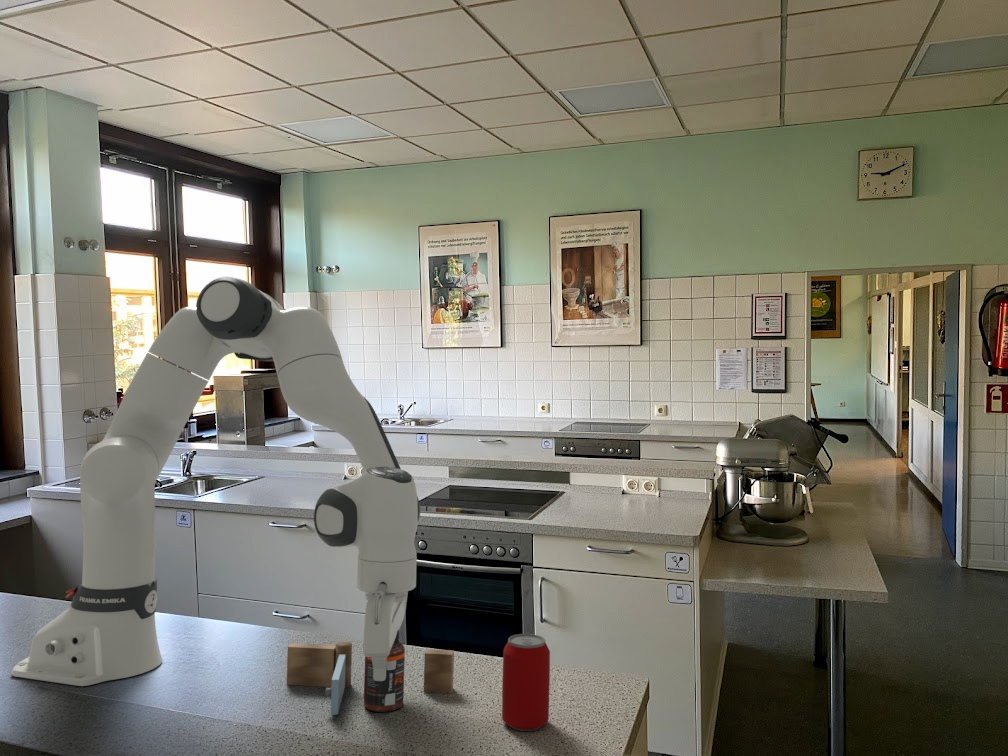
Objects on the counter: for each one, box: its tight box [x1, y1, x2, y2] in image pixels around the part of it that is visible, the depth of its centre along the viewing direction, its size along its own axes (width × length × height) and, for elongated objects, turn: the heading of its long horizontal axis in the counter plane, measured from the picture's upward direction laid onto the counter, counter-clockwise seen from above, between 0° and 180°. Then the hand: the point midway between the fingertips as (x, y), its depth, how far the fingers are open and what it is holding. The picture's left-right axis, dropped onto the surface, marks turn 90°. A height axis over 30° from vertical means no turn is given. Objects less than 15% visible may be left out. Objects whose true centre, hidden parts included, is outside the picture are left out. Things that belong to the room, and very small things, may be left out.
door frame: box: [286, 641, 455, 694], centre depth 124 cm, size 27×3×6 cm, turn 85°
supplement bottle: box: [363, 629, 406, 713], centre depth 116 cm, size 6×6×11 cm
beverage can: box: [501, 633, 551, 732], centre depth 111 cm, size 7×7×12 cm
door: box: [324, 654, 346, 716], centre depth 117 cm, size 11×2×5 cm, turn 7°
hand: (384, 668), depth 116 cm, fingers open, 8 cm apart
